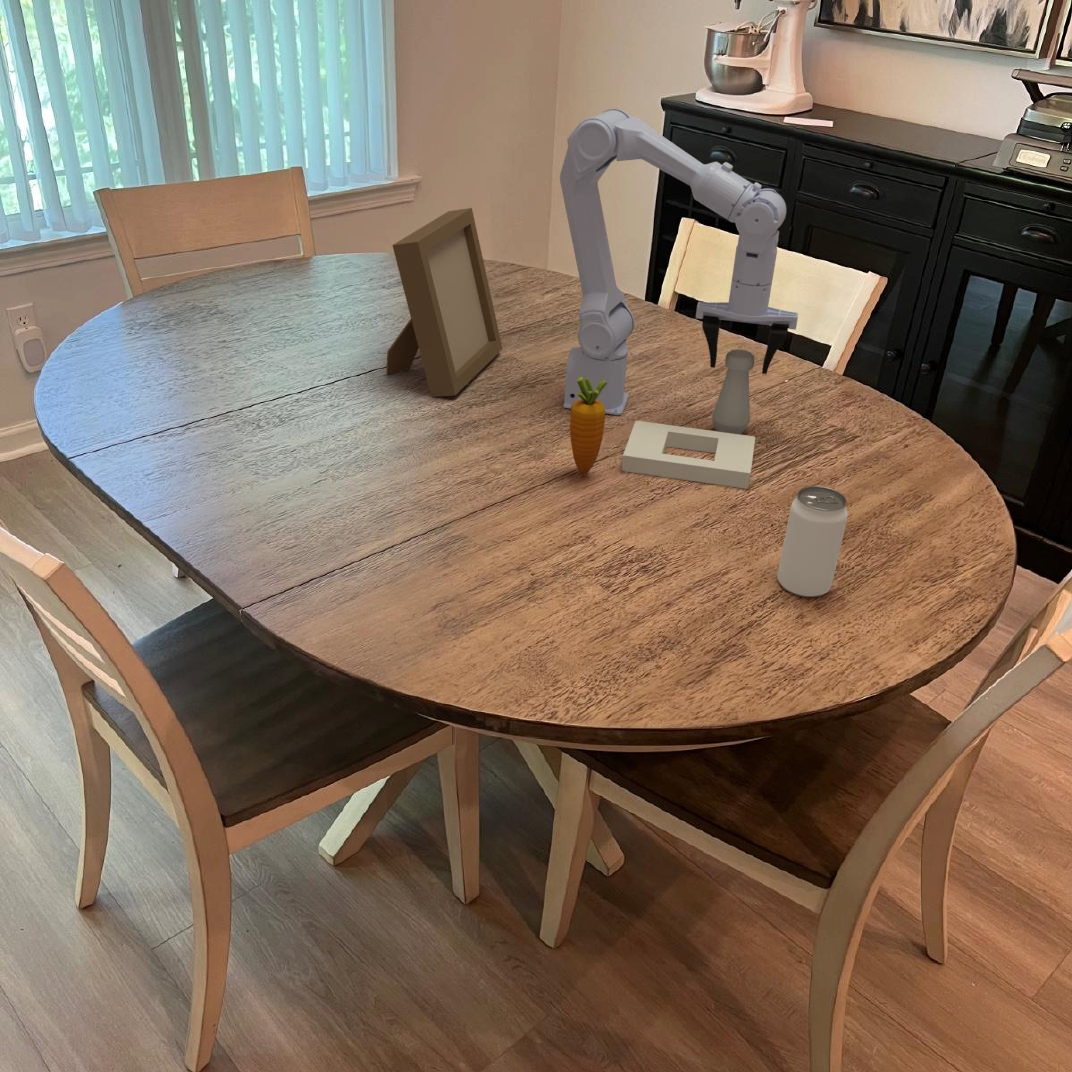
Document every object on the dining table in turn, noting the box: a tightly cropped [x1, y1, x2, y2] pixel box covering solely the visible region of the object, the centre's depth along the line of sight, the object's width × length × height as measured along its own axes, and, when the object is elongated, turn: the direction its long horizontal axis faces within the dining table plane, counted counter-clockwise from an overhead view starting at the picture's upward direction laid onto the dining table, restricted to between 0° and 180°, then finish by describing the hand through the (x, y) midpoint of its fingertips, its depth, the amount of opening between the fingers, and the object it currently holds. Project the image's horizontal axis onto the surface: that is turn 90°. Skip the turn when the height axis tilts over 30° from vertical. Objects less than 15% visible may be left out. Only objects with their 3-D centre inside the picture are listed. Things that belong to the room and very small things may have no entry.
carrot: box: [569, 377, 607, 477], centre depth 142 cm, size 5×5×15 cm
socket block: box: [621, 420, 756, 490], centre depth 151 cm, size 18×12×2 cm, turn 77°
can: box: [777, 485, 848, 598], centre depth 122 cm, size 6×6×12 cm
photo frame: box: [385, 207, 503, 398], centre depth 170 cm, size 15×22×25 cm
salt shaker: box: [711, 349, 755, 435], centre depth 157 cm, size 6×6×13 cm
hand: (738, 368), depth 155 cm, fingers open, 7 cm apart
